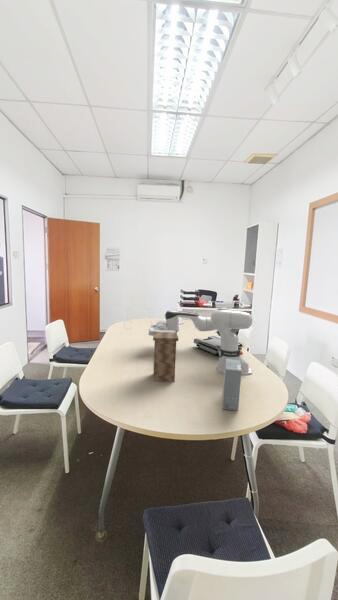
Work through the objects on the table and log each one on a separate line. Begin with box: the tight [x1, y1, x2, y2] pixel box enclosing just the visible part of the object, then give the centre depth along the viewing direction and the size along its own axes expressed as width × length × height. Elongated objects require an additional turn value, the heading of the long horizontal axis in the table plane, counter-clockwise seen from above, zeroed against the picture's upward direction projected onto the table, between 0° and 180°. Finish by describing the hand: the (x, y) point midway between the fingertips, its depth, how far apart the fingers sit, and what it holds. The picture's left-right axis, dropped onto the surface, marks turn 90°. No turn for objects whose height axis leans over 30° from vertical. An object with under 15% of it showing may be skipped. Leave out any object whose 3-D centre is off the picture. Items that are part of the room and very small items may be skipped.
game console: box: [193, 335, 243, 358], centre depth 220 cm, size 21×32×8 cm, turn 35°
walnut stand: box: [152, 332, 179, 383], centre depth 164 cm, size 14×13×26 cm
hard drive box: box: [221, 359, 242, 412], centre depth 139 cm, size 16×8×20 cm, turn 168°
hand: (162, 336), depth 197 cm, fingers open, 8 cm apart
